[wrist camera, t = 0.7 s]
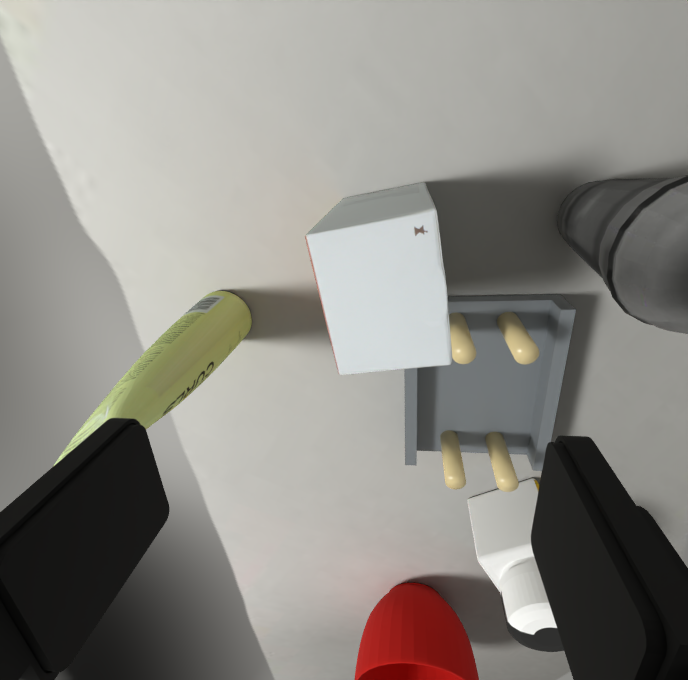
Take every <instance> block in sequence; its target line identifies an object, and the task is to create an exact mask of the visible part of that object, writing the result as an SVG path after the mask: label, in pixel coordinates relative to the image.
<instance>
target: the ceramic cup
mask: <svg viewBox="0 0 688 680" xmlns="http://www.w3.org/2000/svg"><path fill="white" fill-rule="evenodd" d="M355 680H479V678H478V673H477V668H476V663H475V659H474V655H473V651H472V648H471V644H470V641H469V639H468V636H467V634H466V631H465V629H464V627H463V625H462V623H461V621H460V619H459V618H458V616H457V615H456V613H455V612H454V610H453V609H452V608H451V607H450V606H449V604H448V603H447V602H446V601H445V600H444V599H443V598H442V597H441V596H440V595H439V594H438V592H437V591H435V590H434V589H433V588H431V587H429V586H426V585H423V584H419V583H403V584H400V585H397V586H395V587H393V588H392V589H391V590H390V592H389V593H388V594H386V595H385V596H384V597H383V598H382V599H381V600H380V601H379V603H378V604H377V605H376V606H375V608H374V609H373V611H372V612H371V614H370V616H369V618H368V621H367V623H366V626H365V629H364V632H363V635H362V639H361V643H360V648H359V653H358V659H357V665H356V672H355Z"/></svg>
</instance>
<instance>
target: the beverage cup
mask: <svg viewBox="0 0 688 680" xmlns="http://www.w3.org/2000/svg"><path fill="white" fill-rule="evenodd" d="M557 225H558V229H559V232H560V234H561V235H562V237H563V238H564V239H565V240H566V242H567V243H568V244H569V245H570V247H571V248H572V249H573V250H574V251H575V252H576V253H577V254H578V255H579V256H580V257H581V258H582V259H583V260H584V261H585V262H586V263H587V264H588V265H589V266H590V267H591V268H593V269H594V270H595V271H596V272H597V273H598V274H599V275H600V276H601V277H602V278H603V280H604V282H605V284H606V285H607V287H608V289H609V290H610V291H611V294H612V297H613V298H614V300H615V301H616V302H617V303H618V305H619V306H620V307H621V308H622V309H623V311H624V312H625V313H627V314H629V315H630V316H632V317H634V318H636V319H638V320H640V321H642V322H643V323H646V324H650V325H654V326H656V327H658V328H661V329H664V330H668V331H673V332H679V333H685V334H688V176H682V177H677V178H663V179H612V180H605V181H595V182H589V183H586V184H584V185H582V186H580V187H578V188H576V189H575V190H574V191H573V192H572V193H570V194H569V195H568V196H567V198H566V199H565V200H564V202H563V203H562V205H561V207H560V210H559V213H558V220H557Z"/></svg>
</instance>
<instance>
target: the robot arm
mask: <svg viewBox="0 0 688 680" xmlns="http://www.w3.org/2000/svg"><path fill="white" fill-rule="evenodd" d="M168 515H169V504H168V501H167V497H166V495H165V491H164V488H163V485H162V481H161V478H160V475H159V472H158V468H157V465H156V461H155V458H154V455H153V452H152V448H151V445H150V442H149V439H148V435H147V432H146V429H145V427H144V426H143V425H140V422H139V421H138V420H136V419H131V418H110V419H109V420H107V421H106V422H104V423H103V424H102V425H101V426H100V427H99V428H98V429H96V430H95V431H94V432H93V433H92V434H91V435H89V436H88V437H87V438H86V439H85V440H84V441H82V442H81V443H80V444H79V445H78V446H77V447H76V448H74V449H73V450H72V451H71V452H70V453H69V454H67V455H66V456H65V457H64V458H63V459H62V460H60V461H59V462H58V463H57V464H56V465H55V466H53V467H52V468H51V469H50V470H49V471H48V472H47V473H46V474H44V475H43V476H42V477H41V478H40V479H38V480H37V481H36V482H35V483H34V484H33V485H31V486H30V487H29V488H28V489H27V490H26V491H25V492H23V493H22V494H21V495H20V496H19V497H18V498H16V499H15V500H14V501H13V502H12V503H11V504H9V505H8V506H7V507H6V508H5V509H4V510H3V511H1V512H0V680H54V679H55V678H56V677H57V675H58V674H59V672H61V671H63V670H65V669H66V668H67V667H68V666H69V665H70V664H71V662H72V661H73V660H74V658H75V657H76V655H77V654H78V652H79V651H80V649H81V648H82V646H83V644H84V643H85V642H86V640H87V639H88V637H89V636H90V634H91V633H92V631H93V630H94V628H95V627H96V625H97V624H98V622H99V621H100V619H101V618H102V616H103V615H104V613H105V612H106V610H107V609H108V607H109V606H110V604H111V603H112V601H113V600H114V598H115V597H116V595H117V594H118V592H119V591H120V589H121V588H122V586H123V585H124V583H125V582H126V580H127V579H128V577H129V576H130V574H131V573H132V571H133V570H134V569H135V567H136V566H137V564H138V563H139V561H140V560H141V558H142V557H143V555H144V554H145V552H146V551H147V549H148V548H149V546H150V545H151V543H152V541H153V540H154V539H155V537H156V536H157V534H158V533H159V531H160V530H161V528H162V527H163V525H164V524H165V522H166V520H167V518H168ZM531 546H532V551H533V554H534V557H535V560H536V564H537V567H538V570H539V573H540V576H541V579H542V582H543V585H544V589H545V592H546V595H547V598H548V601H549V604H550V607H551V610H552V614H553V617H554V620H555V623H556V626H557V629H558V632H559V635H560V638H561V642H562V645H563V648H564V651H565V654H566V657H567V660H568V663H569V667H570V670H571V673H572V676H573V679H574V680H688V568H687V567H686V565H685V564H684V562H683V561H682V559H681V558H680V556H679V555H678V553H677V552H676V551H675V549H674V548H673V546H672V545H671V543H670V542H669V540H668V539H667V538H666V536H665V535H664V533H663V532H662V530H661V529H660V527H659V526H658V524H657V523H656V522H655V520H654V519H653V517H652V516H651V515H650V514H649V513H648V511H647V510H645V509H644V508H642V507H640V506H636V505H635V503H634V502H633V500H632V499H631V497H630V496H629V494H628V493H627V491H626V490H625V488H624V487H623V485H622V484H621V482H620V481H619V479H618V478H617V476H616V475H615V473H614V472H613V470H612V469H611V467H610V466H609V464H608V463H607V461H606V460H605V458H604V457H603V455H602V454H601V452H600V451H599V449H598V448H597V446H596V444H595V443H594V441H593V440H592V439H591V438H589V437H581V436H558V437H557V439H556V441H555V442H549V443H548V444H547V447H546V452H545V458H544V463H543V469H542V474H541V480H540V485H539V491H538V497H537V502H536V508H535V513H534V519H533V525H532V530H531Z"/></svg>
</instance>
